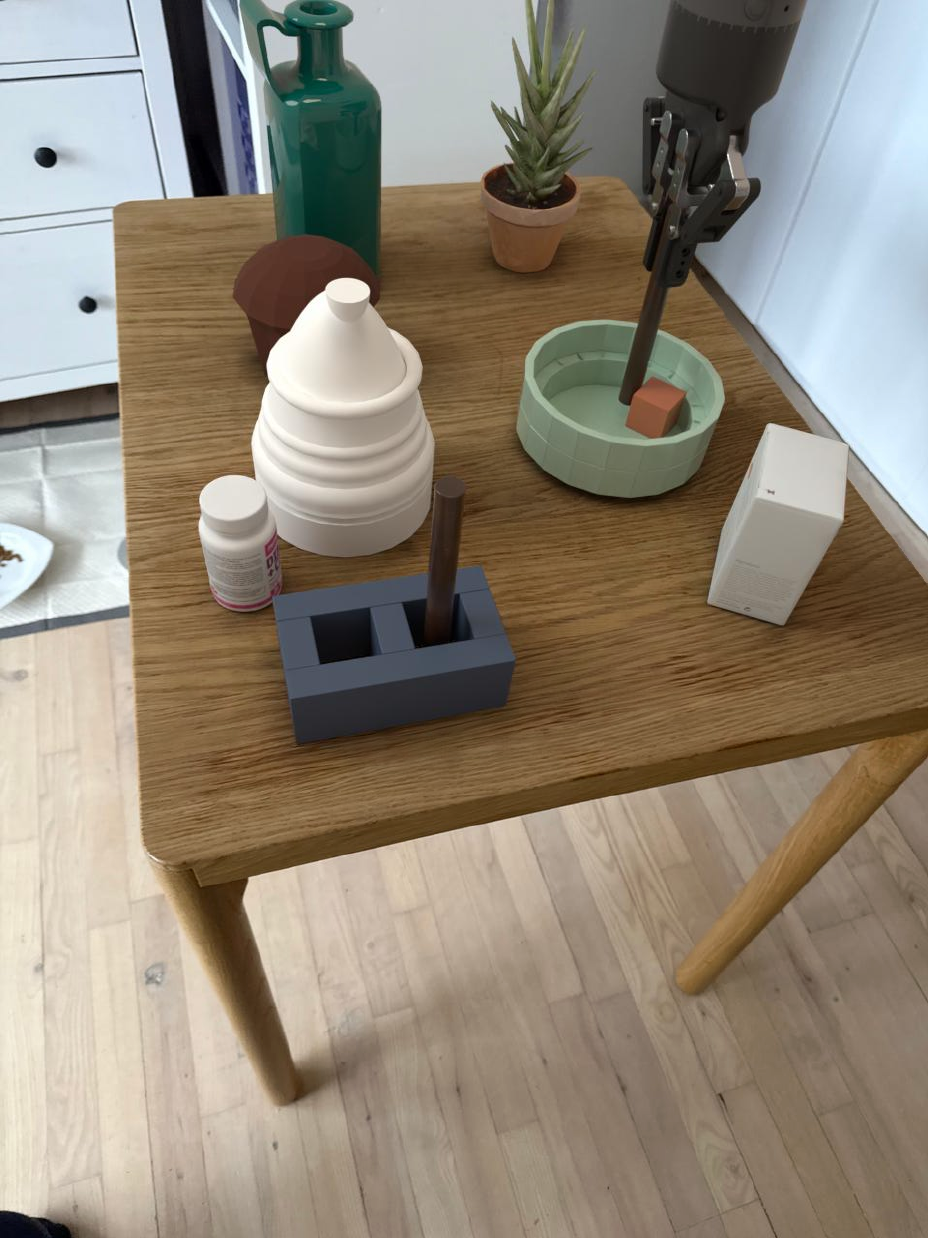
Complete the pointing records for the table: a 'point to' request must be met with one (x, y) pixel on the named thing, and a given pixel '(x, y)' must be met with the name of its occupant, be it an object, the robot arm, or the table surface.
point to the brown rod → (646, 328)
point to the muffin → (293, 283)
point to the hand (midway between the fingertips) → (662, 275)
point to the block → (655, 408)
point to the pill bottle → (239, 543)
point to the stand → (389, 655)
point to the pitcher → (320, 128)
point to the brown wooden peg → (443, 559)
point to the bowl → (612, 410)
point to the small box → (780, 523)
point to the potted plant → (536, 158)
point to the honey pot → (344, 430)
